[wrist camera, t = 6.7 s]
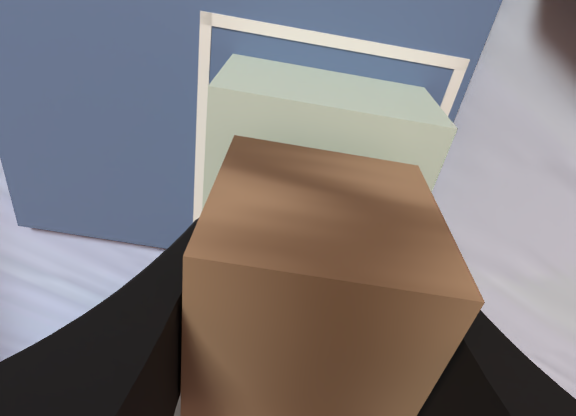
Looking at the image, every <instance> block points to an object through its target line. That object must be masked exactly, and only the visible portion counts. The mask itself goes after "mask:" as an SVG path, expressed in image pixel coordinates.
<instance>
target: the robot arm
mask: <svg viewBox="0 0 576 416" xmlns="http://www.w3.org/2000/svg"><path fill="white" fill-rule="evenodd" d="M198 219H199V218H198ZM198 219H196V220H195V221H194V222H193V223H192V224H191V225H190V226H189V228H188V229H187V230H186V231H185V232H184V233H183V234H182V235H181V236H180V237H179V238H178V239H177V240H176V241H175V242H174V243H173V244H172V245H171V246H170V247H169V248H167V249H166V250H165V251H164V252H163V253H162V254H161V255H160V256H159V257H158V258H156V259H155V260H154V261H153V262H152V263H151V264H150V265H149V266H147V267H146V268H145V269H144V270H143V271H141V272H140V273H139V274H138V275H136V276H135V277H134V278H133V279H132V280H130V281H129V282H128V283H127V284H125V285H124V286H123V287H122V288H120V289H119V290H118V291H116V292H115V293H114V294H112V295H111V296H110V297H108V298H107V299H105V300H104V301H103V302H101V303H100V304H98V305H97V306H95V307H94V308H92V309H91V310H89V311H88V312H86V313H85V314H83V315H82V316H80V317H79V318H77V319H75V320H74V321H72V322H71V323H69V324H67V325H66V326H64V327H63V328H61V329H59V330H58V331H56V332H54V333H53V334H51V335H49V336H48V337H46V338H44V339H42V340H41V341H39V342H37V343H35V344H34V345H32V346H30V347H28V348H26V349H24V350H22V351H20V352H18V353H16V354H15V355H13V356H11V357H9V358H7V359H5V360H3V361H1V362H0V416H174V413H175V409H176V406H177V403H178V400H179V397H180V394H181V349H182V282H183V255H184V252H185V250H186V248H187V245H188V243H189V241H190V238H191V236H192V234H193V231H194V229H195V226H196V224H197V222H198ZM417 416H576V399H575V398H574V397H572V396H571V395H570V394H569V393H568V392H566V391H565V390H564V389H563V388H561V387H560V386H559V385H558V384H557V383H556V382H555V381H553V380H552V379H551V378H550V377H549V376H548V375H547V374H545V373H544V372H543V371H542V370H541V369H540V368H539V367H537V366H536V365H535V364H534V363H533V362H532V361H531V360H530V359H529V358H528V357H527V356H525V355H524V354H523V353H522V352H521V351H520V350H519V349H518V348H517V347H516V346H515V345H514V344H513V343H512V342H511V341H510V340H509V339H508V338H507V337H506V336H505V335H504V334H503V333H502V332H501V331H500V330H499V329H498V328H497V327H496V326H495V325H494V324H493V323H492V322H491V321H490V320H489V319H488V318H487V317H486V315H485V314H484V313H483V312H482V311H481V310H480V311H479V313H478V314H477V316H476V318H475V319H474V321H473V323H472V324H471V326H470V328H469V329H468V331H467V333H466V334H465V336H464V338H463V339H462V341H461V343H460V344H459V346H458V348H457V349H456V351H455V353H454V354H453V356H452V358H451V359H450V361H449V363H448V364H447V366H446V368H445V369H444V371H443V373H442V374H441V376H440V378H439V379H438V381H437V383H436V384H435V386H434V388H433V389H432V391H431V393H430V394H429V396H428V398H427V399H426V401H425V403H424V404H423V406H422V408H421V409H420V411H419V413H418V414H417Z"/></svg>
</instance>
